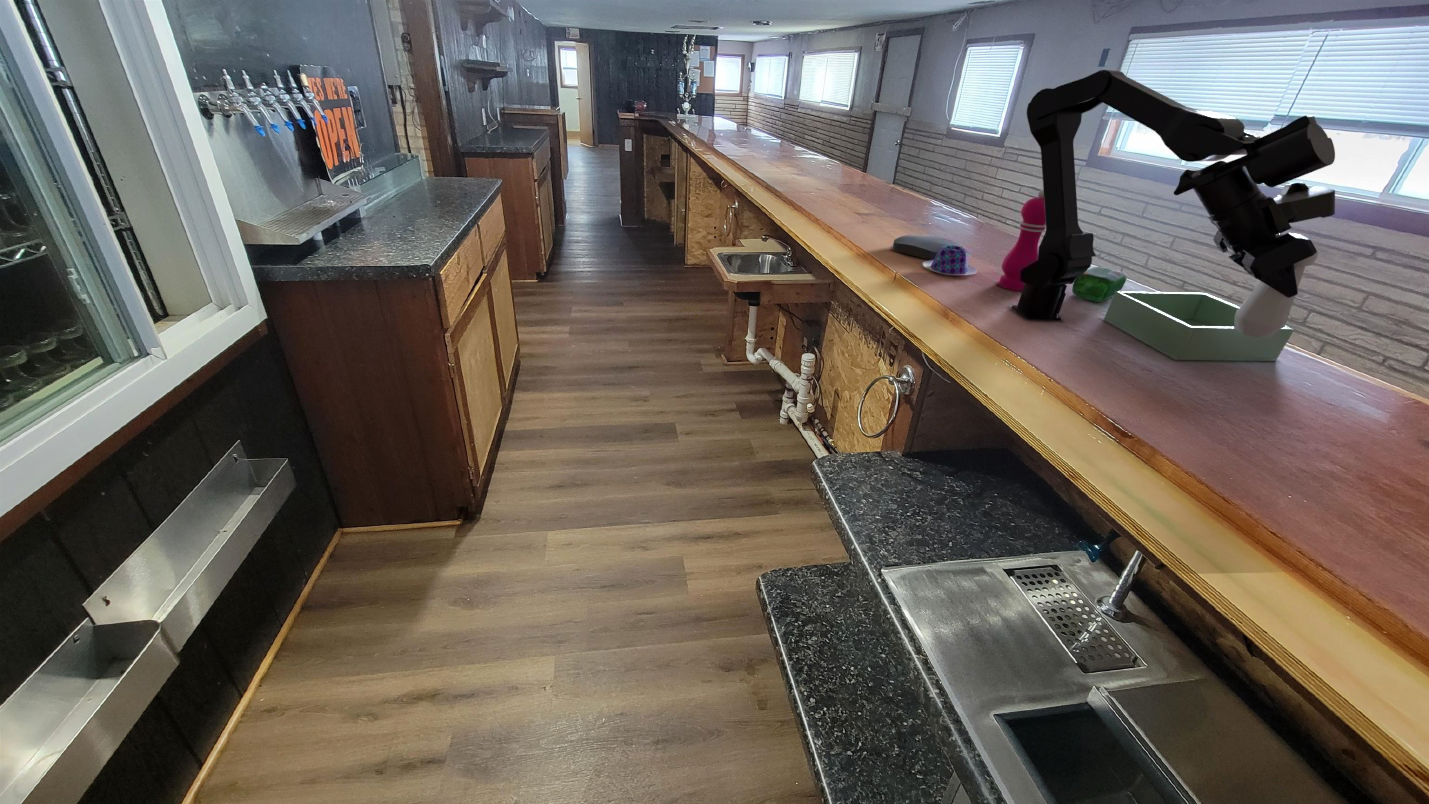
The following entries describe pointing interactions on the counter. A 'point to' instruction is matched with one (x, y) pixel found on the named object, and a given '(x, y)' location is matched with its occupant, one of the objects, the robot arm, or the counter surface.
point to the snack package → (1098, 284)
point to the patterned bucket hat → (950, 262)
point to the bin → (1191, 326)
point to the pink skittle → (1025, 243)
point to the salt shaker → (1267, 307)
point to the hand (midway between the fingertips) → (1288, 292)
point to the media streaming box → (921, 245)
